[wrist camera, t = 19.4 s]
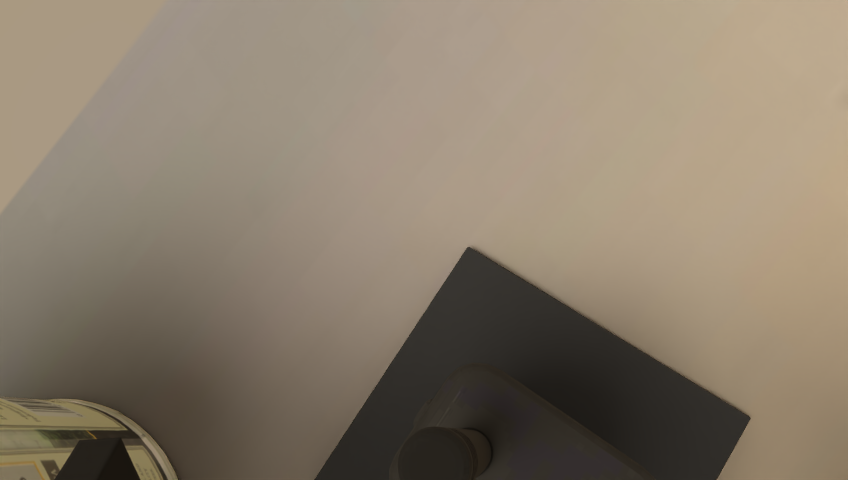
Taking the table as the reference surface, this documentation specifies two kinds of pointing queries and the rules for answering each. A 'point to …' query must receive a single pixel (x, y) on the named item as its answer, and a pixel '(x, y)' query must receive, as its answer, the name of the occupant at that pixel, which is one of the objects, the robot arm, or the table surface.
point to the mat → (540, 380)
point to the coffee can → (68, 438)
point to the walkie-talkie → (503, 436)
